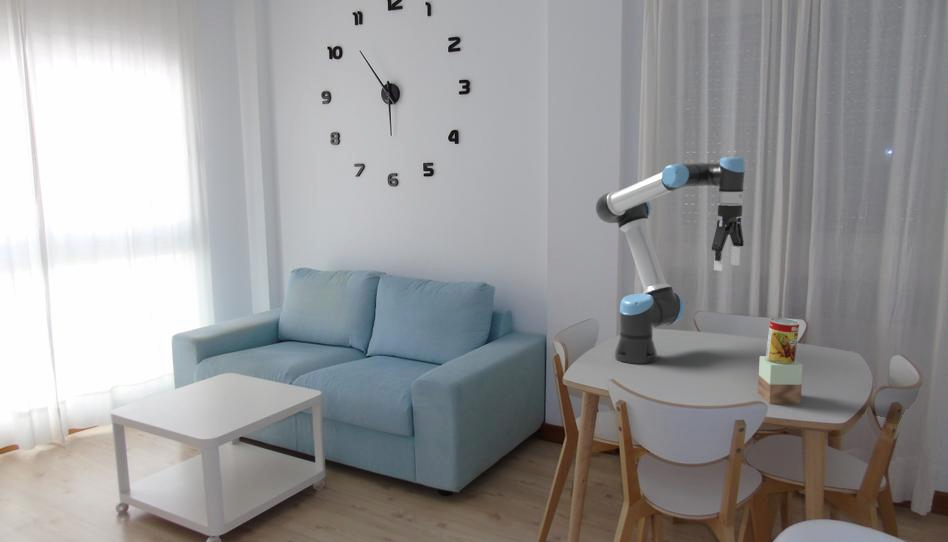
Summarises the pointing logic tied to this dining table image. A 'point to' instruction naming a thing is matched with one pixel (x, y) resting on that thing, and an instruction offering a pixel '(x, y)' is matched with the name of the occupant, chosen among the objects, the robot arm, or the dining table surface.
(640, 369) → the dining table surface
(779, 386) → the walnut block
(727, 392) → the dining table surface
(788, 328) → the canned food
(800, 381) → the sage block
